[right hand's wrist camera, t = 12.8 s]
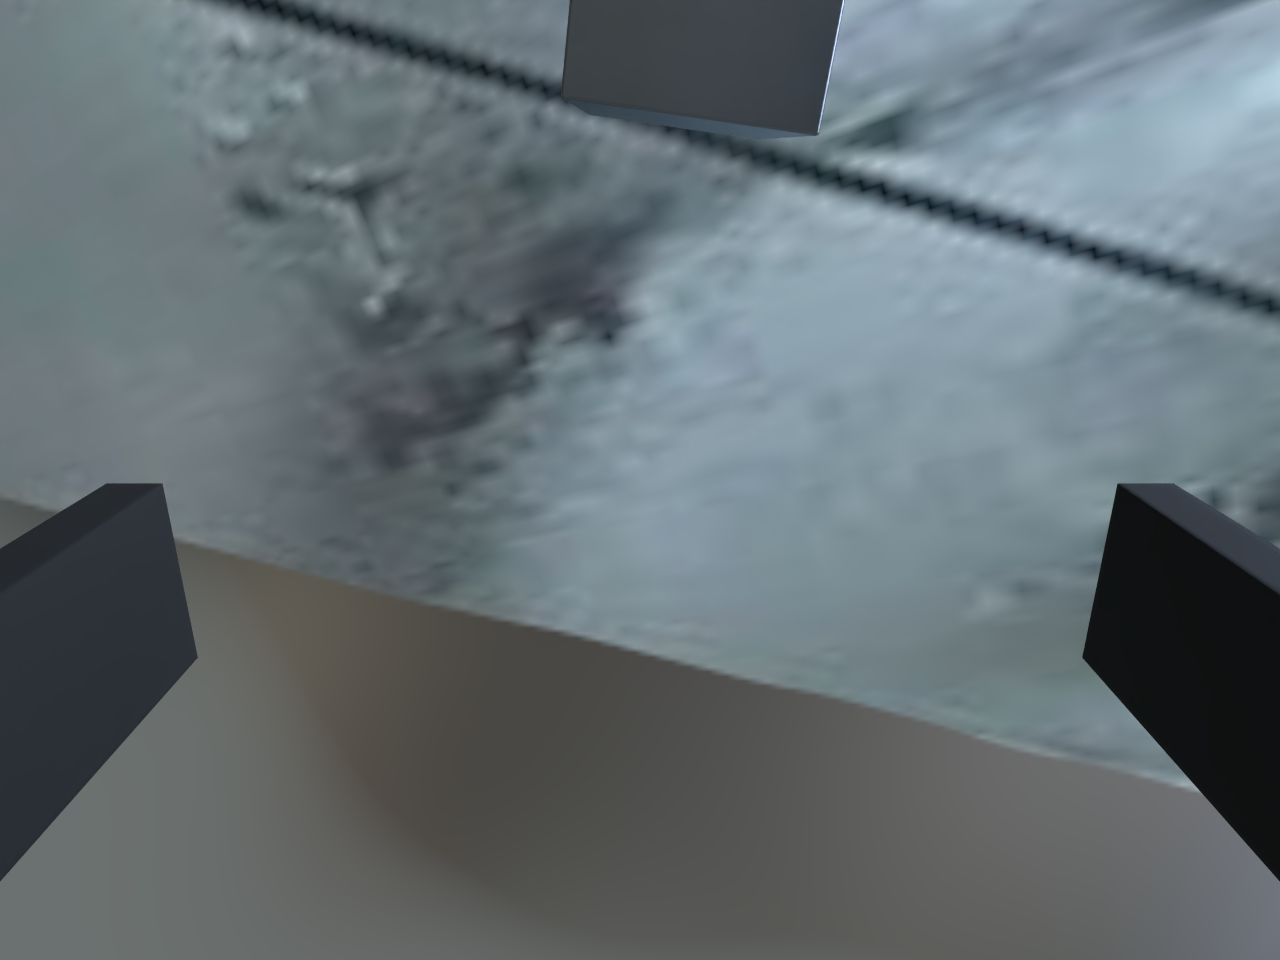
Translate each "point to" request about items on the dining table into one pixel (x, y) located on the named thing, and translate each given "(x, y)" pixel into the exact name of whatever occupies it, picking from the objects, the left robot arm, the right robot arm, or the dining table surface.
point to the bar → (704, 63)
